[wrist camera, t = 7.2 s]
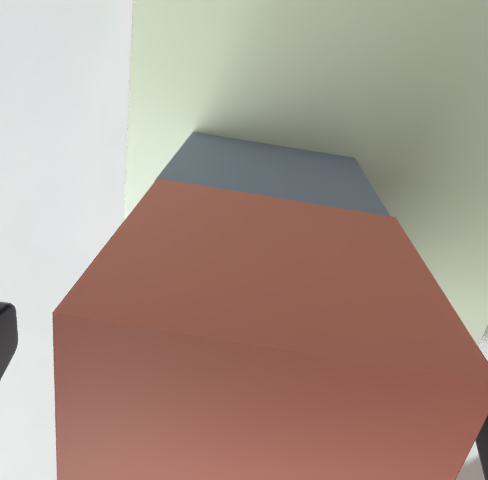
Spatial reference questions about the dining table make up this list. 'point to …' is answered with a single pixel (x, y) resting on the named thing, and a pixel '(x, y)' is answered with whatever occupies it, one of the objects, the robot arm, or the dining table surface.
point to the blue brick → (273, 172)
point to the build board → (333, 106)
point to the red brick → (261, 348)
